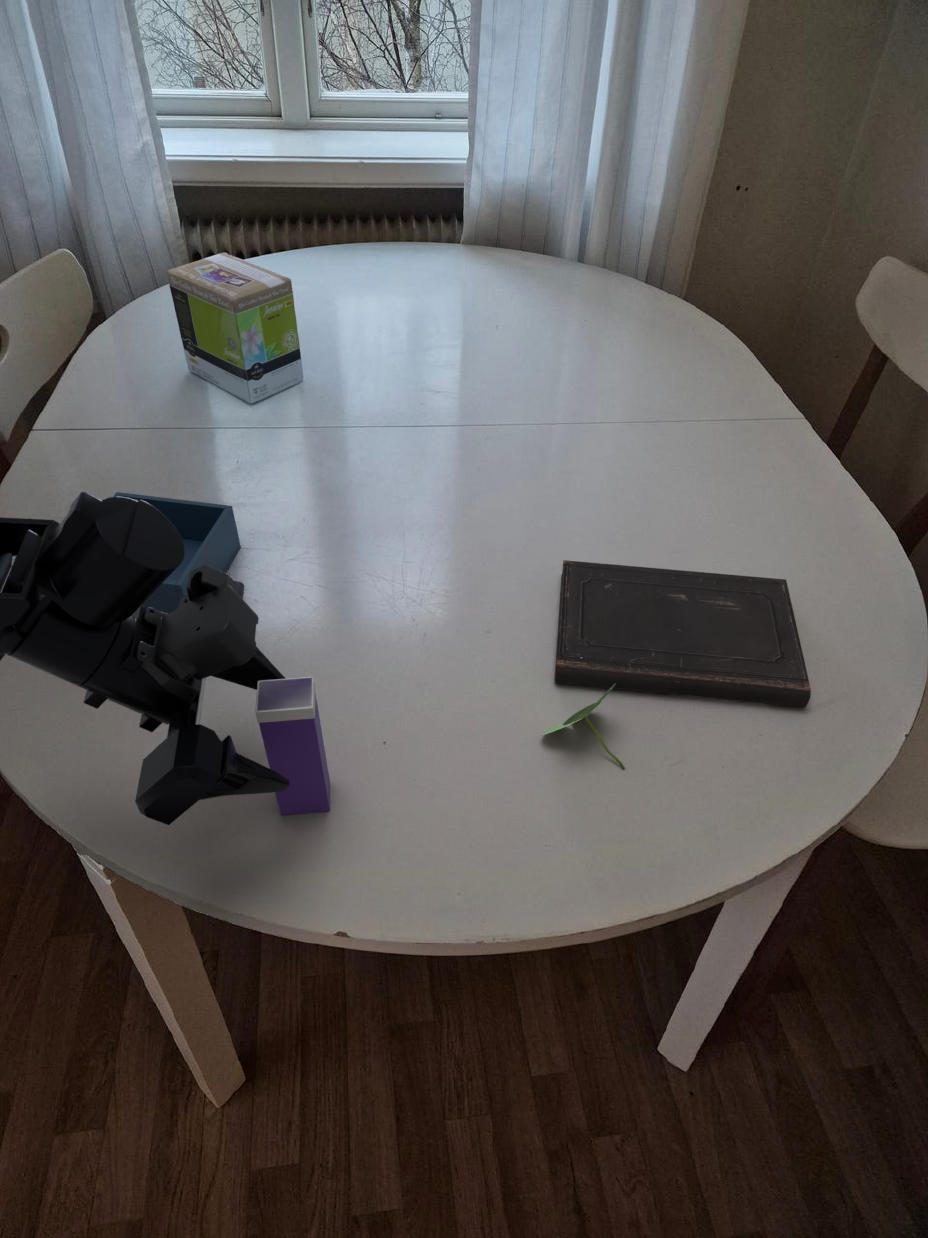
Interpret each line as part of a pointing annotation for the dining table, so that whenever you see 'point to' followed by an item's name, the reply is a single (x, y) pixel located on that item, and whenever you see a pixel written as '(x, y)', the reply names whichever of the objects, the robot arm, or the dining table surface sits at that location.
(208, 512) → the open blue box
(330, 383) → the dining table surface
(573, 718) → the seedling
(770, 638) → the hardcover book
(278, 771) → the purple white-banded prism
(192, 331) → the tea box
